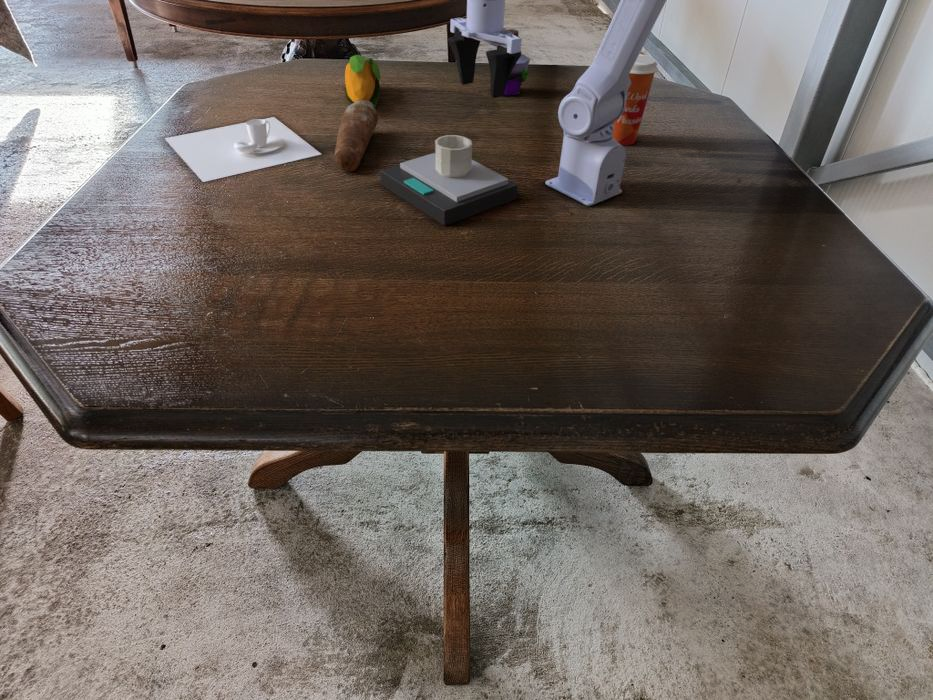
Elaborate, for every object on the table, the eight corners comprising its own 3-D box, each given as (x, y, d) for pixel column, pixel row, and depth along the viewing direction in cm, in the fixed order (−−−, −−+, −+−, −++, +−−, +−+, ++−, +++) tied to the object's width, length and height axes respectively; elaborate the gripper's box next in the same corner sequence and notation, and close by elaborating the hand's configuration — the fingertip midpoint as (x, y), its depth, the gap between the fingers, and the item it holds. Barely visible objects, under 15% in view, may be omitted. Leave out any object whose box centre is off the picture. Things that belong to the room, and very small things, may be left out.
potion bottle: (527, 100, 129) (533, 37, 122) (486, 98, 130) (489, 35, 122) (526, 86, 136) (532, 26, 128) (486, 84, 136) (490, 24, 128)
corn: (377, 45, 128) (379, 76, 113) (382, 84, 133) (384, 118, 118) (341, 48, 128) (338, 80, 113) (347, 86, 133) (345, 122, 118)
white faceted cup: (476, 167, 96) (477, 139, 93) (462, 181, 92) (463, 152, 89) (444, 160, 98) (444, 132, 95) (429, 174, 94) (429, 145, 91)
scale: (516, 199, 96) (518, 179, 94) (444, 226, 89) (444, 205, 86) (450, 163, 105) (451, 144, 103) (381, 185, 98) (380, 165, 96)
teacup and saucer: (241, 160, 102) (236, 136, 100) (224, 144, 107) (219, 120, 105) (291, 149, 107) (288, 125, 104) (273, 133, 111) (269, 110, 109)
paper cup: (597, 144, 113) (611, 62, 104) (600, 129, 119) (614, 50, 110) (641, 150, 112) (659, 67, 103) (642, 134, 117) (660, 55, 108)
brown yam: (379, 130, 114) (378, 99, 111) (362, 176, 100) (359, 142, 96) (345, 128, 114) (342, 97, 111) (322, 174, 100) (318, 140, 96)
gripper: (435, -11, 95) (435, 82, 104) (499, 9, 87) (492, 107, 96) (470, -15, 99) (467, 74, 108) (535, 3, 91) (526, 98, 99)
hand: (481, 89), depth 102 cm, fingers open, 7 cm apart
